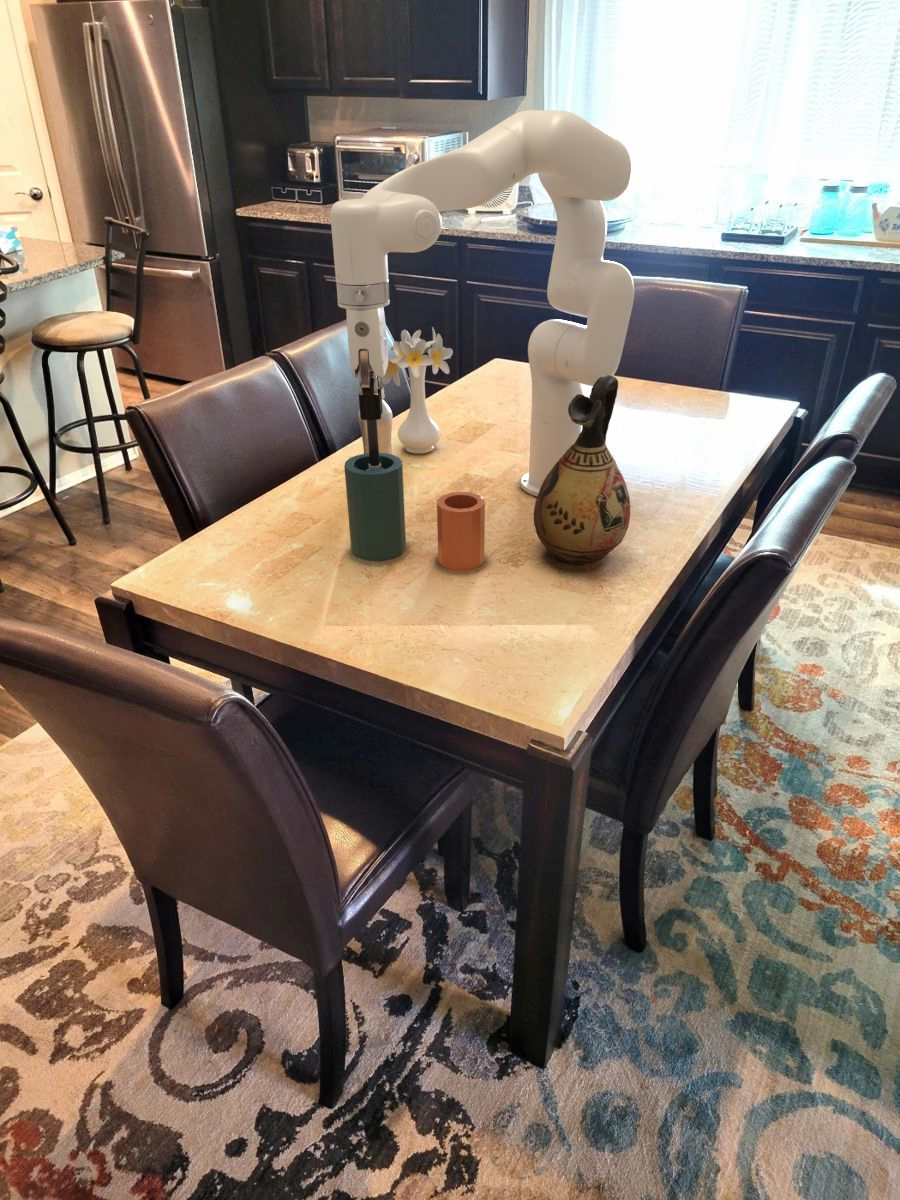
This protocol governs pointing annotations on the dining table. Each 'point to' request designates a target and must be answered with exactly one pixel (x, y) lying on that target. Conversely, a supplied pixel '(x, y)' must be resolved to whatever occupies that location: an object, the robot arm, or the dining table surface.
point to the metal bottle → (379, 428)
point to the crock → (461, 530)
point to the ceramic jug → (585, 488)
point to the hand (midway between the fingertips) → (371, 415)
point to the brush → (373, 446)
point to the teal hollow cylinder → (376, 507)
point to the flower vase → (417, 387)
